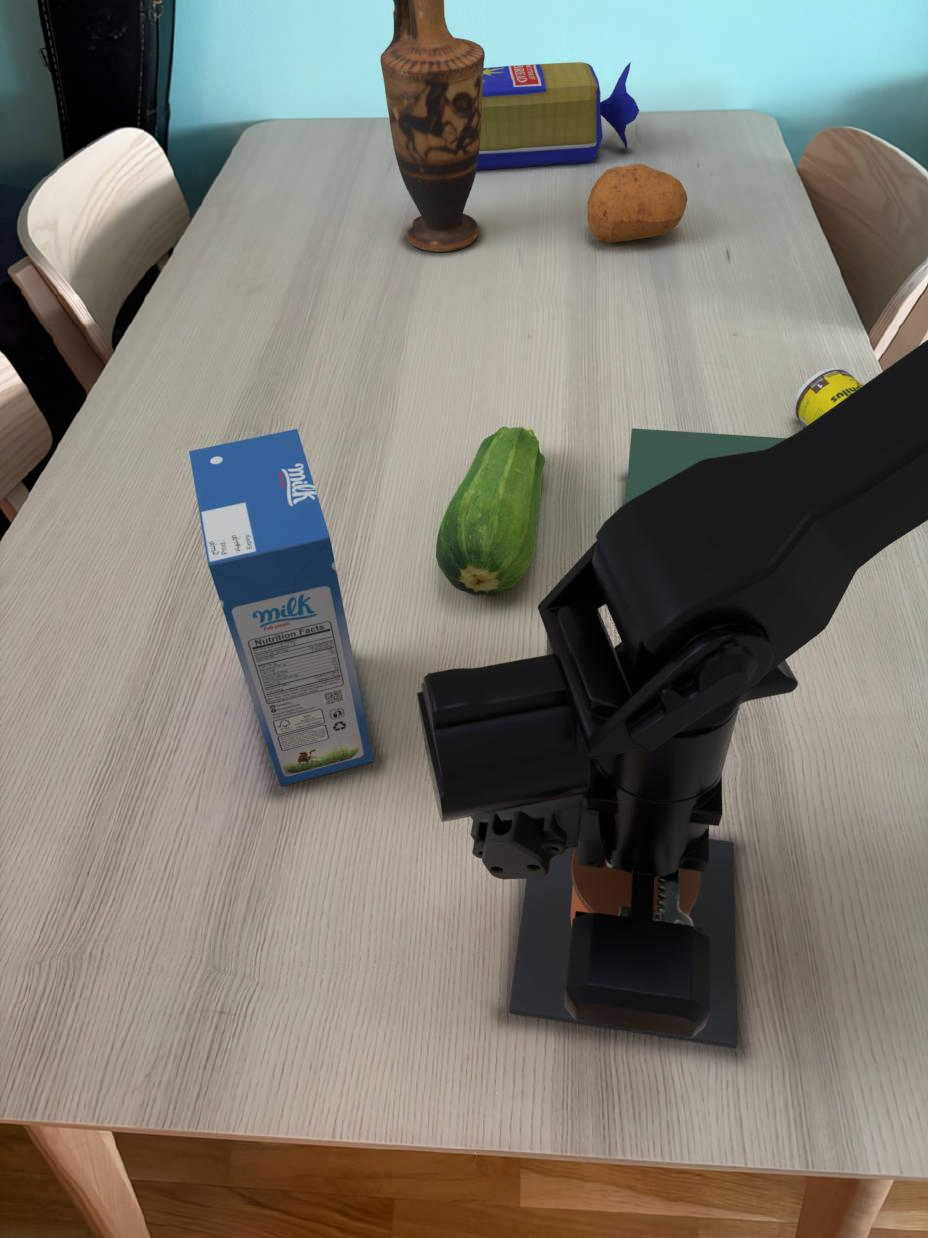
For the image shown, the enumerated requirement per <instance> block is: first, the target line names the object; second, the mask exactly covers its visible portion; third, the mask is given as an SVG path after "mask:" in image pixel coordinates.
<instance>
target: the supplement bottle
mask: <svg viewBox="0 0 928 1238" xmlns="http://www.w3.org/2000/svg"><path fill="white" fill-rule="evenodd" d="M863 385H864V384H862V383H860V381H858V379H856V378H855V377H854V376H853V374H851V373H849V372H848V371H847V370H845V369H843V368H839V367H830V368H826V369H823V370H821V371H819V372H817V373H815V374H814V375H812V376H811V377H809V379H807V380H806V381H805V383H804V384H803V385H802V386H801V387H800V389H799V390H798V392H797V394H796V396H795V399H794V403H793V411H794V415H795V417H796V419H797V420H798V421H799V422H800V423H801V424H802V425H803V426H804V428H805V427H806V426H808V425H809V424H810V423H812V422H813V421H815V420H816V419H817V418H819V417H820V416H822V415H823V414H824V413H826V412H827V411H829V410H830V409H831V408H833V407H834V406H836V405H837V404H838V403H840V402H841V401H843V400H844V399H845V398H847V397H848V396H849V395H851V394H852V393H854V392H855V391H856V390H858V389H859V388H861V387H862V386H863Z"/></svg>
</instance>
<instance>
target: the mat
mask: <svg viewBox="0 0 928 1238" xmlns="http://www.w3.org/2000/svg"><path fill="white" fill-rule="evenodd" d="M734 845H735V844H734V842H733V841H730V840H729V841H728V840H721V839H713V838H712V839H711V838H709V863H708V867H707V870H706V872H701V871H700V874H701V882H700V889H699V893H698V896H697V899H696V902H695V904H694V906H693V907H692V909H691V911H690V914H689V917H690V918H691V919H692V921H693V923H694V927H699V928H701V929H702V933H704V934H705V935H707V936H708V937H710V1014H709V1017H708V1019H707V1022H706V1025H705V1027H704V1028H703V1029H702V1030H701V1031H700V1032H698V1033H697V1034H696V1035H695V1036H694V1037H692V1038H687V1037H680V1036H674V1035H667V1034H660V1033H654V1032H647V1031H641V1030H634V1029H627V1028H621V1027H614V1026H608V1025H601V1024H594V1023H588V1022H581V1021H576V1020H575V1019H574V1018H573V1017H572V1015H571V1014H570V1013H569V1012H568V1010H567V1009H566V1008H565V1007H564V1005H565V993H566V982H567V972H568V962H569V952H570V941H571V931H572V927H571V920H570V917H571V902H572V889H573V882H572V875H571V866H572V858H573V853H574V850H575V848H571V847H570V848H567V849H565V852H564V853H563V854H561V855H555V856H554V857H553V858H552V859H551V861H550V866H549V872H548V873H547V874H546V875H545V876H543V877H541V878H526V881H525V888H524V897H523V903H522V911H521V917H520V926H519V933H518V940H517V948H516V954H515V964H514V970H513V976H512V984H511V991H510V999H509V1007H508V1012H509V1013H508V1014H513V1015H518V1016H519V1015H520V1016H527V1017H533V1018H540V1019H546V1020H553V1021H559V1022H565V1023H571V1024H577V1025H585V1026H586V1025H587V1026H591V1027H599V1028H603V1029H604V1028H605V1029H611V1030H618V1031H623V1032H631V1033H638V1034H642V1035H643V1034H644V1035H651V1036H656V1037H663V1038H670V1039H678V1040H683V1041H688V1042H689V1041H691V1042H696V1043H702V1044H708V1045H717V1046H723V1047H728V1048H737V1047H738V1045H739V1042H738V1041H739V1039H738V1037H739V1036H738V993H737V992H738V991H737V990H738V989H737V985H738V984H737V944H736V943H737V942H736V941H737V940H736V897H735V896H736V895H735V891H736V890H735V849H734V848H735V847H734Z"/></svg>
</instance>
